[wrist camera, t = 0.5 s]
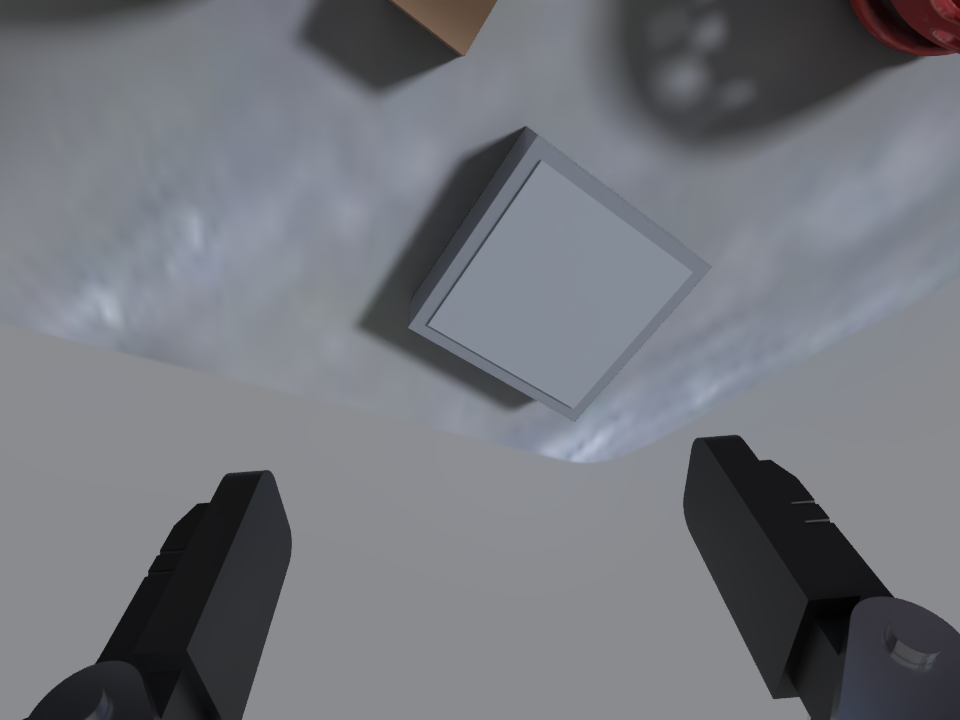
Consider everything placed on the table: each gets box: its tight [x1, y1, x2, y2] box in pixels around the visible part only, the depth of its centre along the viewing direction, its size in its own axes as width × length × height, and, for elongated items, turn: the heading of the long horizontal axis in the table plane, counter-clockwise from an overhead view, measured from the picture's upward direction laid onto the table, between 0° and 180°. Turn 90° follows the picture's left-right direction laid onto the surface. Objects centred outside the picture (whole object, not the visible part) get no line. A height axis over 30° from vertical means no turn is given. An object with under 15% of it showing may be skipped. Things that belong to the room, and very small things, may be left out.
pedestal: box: [408, 126, 712, 422], centre depth 32 cm, size 12×12×4 cm
